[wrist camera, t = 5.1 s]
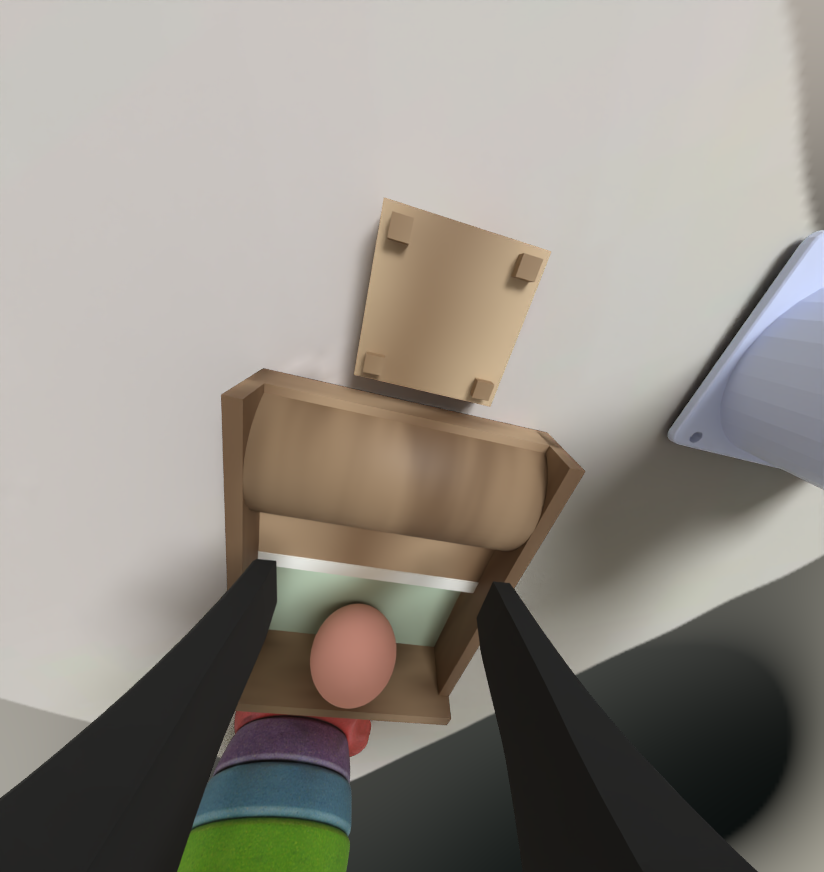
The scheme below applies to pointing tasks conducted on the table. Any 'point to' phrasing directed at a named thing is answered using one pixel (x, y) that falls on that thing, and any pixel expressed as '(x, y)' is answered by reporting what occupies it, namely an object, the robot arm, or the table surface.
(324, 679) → the ball
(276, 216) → the table surface
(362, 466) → the wooden tray
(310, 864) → the stacking bear
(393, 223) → the wooden footed board
